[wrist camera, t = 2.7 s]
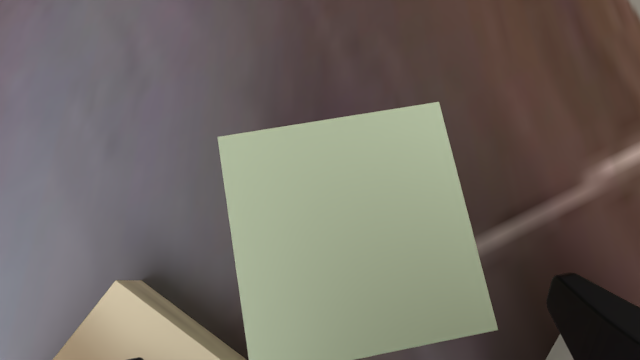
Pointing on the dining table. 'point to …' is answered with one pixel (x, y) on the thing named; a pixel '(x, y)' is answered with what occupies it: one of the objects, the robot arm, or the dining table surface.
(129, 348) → the maple base
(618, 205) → the dining table surface
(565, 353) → the grey cube
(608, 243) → the dining table surface
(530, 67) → the dining table surface
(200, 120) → the dining table surface
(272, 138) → the sage block
